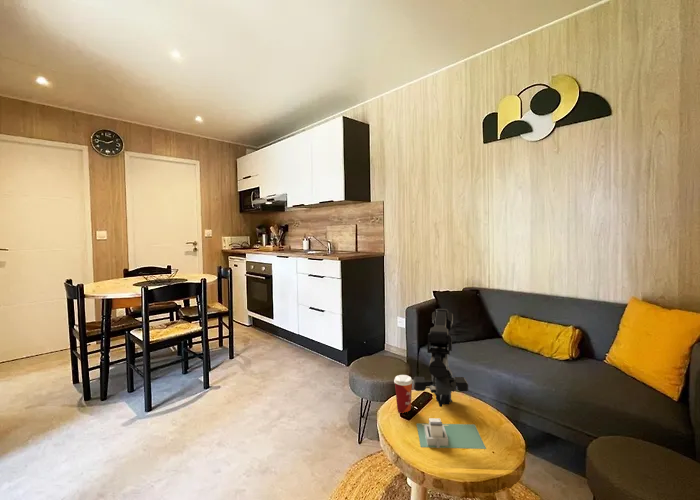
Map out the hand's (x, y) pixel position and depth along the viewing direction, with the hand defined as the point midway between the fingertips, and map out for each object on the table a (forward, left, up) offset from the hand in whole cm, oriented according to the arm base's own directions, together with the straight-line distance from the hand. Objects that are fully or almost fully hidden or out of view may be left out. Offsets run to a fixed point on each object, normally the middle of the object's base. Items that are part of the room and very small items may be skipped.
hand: (440, 406), depth 121 cm
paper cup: (-17, -12, -12) cm, 24 cm away
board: (+1, +3, -12) cm, 12 cm away
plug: (+3, -2, -11) cm, 11 cm away
